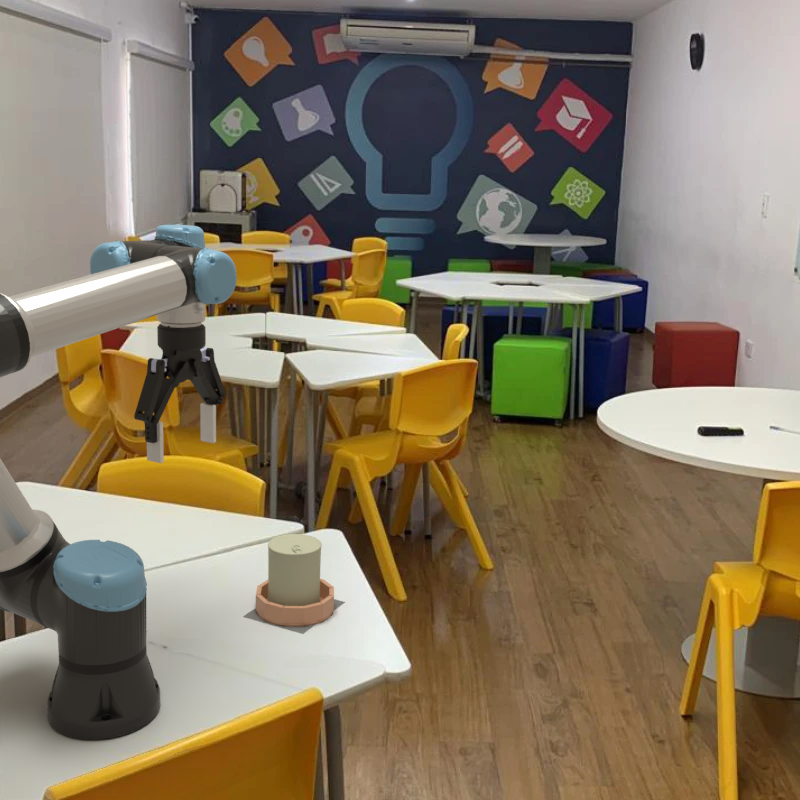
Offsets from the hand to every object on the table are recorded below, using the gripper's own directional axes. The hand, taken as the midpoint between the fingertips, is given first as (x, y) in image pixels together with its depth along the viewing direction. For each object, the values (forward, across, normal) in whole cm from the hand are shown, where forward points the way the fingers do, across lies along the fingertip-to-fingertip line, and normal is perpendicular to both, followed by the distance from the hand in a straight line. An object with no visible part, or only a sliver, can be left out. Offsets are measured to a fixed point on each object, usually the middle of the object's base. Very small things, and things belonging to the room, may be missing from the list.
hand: (182, 451), depth 161 cm
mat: (+29, +10, -16) cm, 34 cm away
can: (+28, +10, -16) cm, 34 cm away
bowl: (+28, +10, -16) cm, 34 cm away
